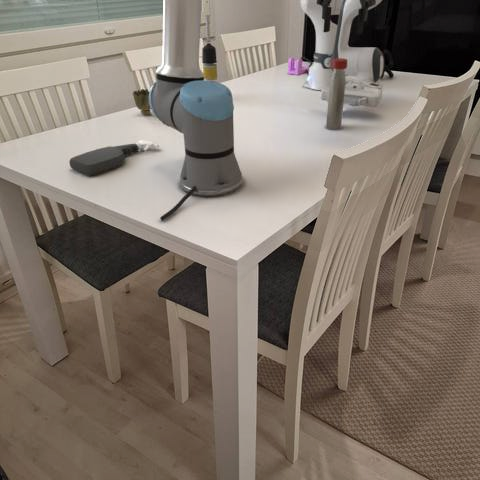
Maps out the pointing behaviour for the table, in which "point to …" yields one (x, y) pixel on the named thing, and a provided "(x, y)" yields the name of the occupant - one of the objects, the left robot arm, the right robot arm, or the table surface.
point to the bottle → (336, 100)
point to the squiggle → (386, 69)
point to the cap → (339, 63)
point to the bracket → (298, 68)
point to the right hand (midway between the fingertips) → (342, 101)
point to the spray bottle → (106, 157)
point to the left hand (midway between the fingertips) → (342, 32)
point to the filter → (209, 57)
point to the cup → (142, 101)
